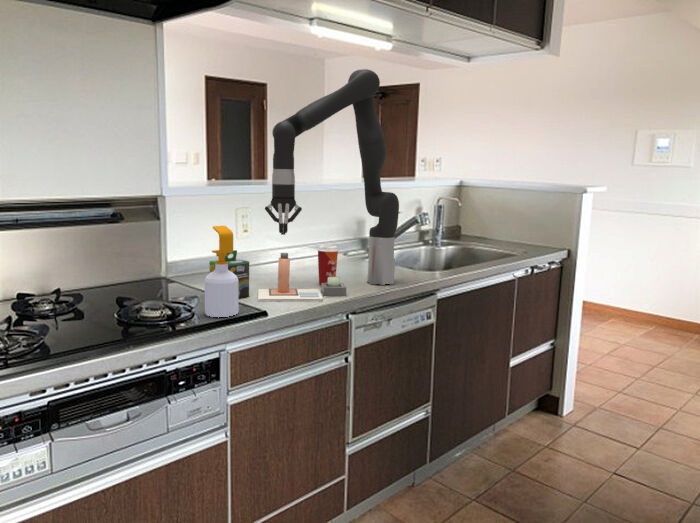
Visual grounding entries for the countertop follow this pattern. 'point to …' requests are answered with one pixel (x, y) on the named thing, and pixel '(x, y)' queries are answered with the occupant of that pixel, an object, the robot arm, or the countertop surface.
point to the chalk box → (237, 272)
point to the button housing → (333, 290)
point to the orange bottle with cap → (283, 273)
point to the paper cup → (327, 262)
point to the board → (290, 295)
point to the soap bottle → (222, 280)
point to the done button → (333, 281)
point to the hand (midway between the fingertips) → (283, 234)
